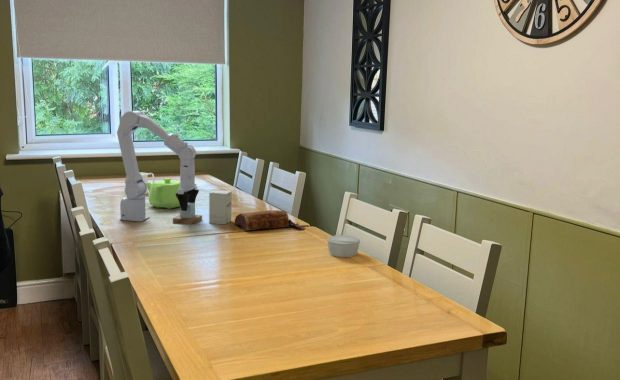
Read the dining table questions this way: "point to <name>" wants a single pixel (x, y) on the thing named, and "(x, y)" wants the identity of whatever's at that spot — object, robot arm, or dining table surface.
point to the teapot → (164, 193)
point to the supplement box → (220, 207)
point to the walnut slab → (187, 219)
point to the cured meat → (264, 220)
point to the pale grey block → (188, 211)
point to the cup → (146, 178)
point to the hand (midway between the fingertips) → (187, 208)
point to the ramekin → (343, 245)
